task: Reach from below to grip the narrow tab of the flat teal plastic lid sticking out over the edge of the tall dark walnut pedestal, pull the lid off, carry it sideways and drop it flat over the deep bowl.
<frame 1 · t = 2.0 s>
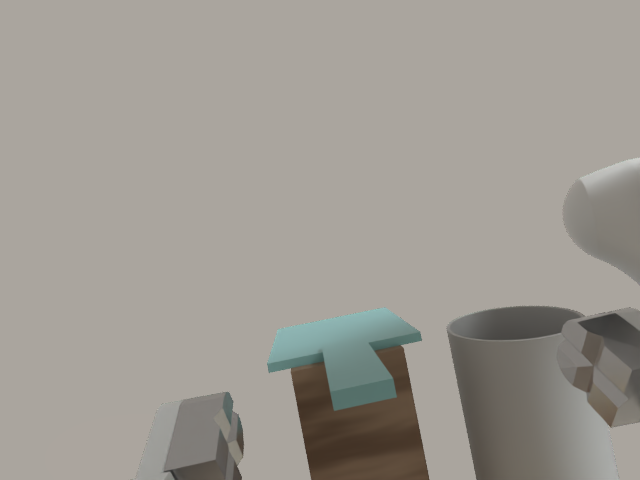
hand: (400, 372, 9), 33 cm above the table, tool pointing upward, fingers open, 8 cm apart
lid: (338, 337, 39), point 26 cm above the table, touching pedestal
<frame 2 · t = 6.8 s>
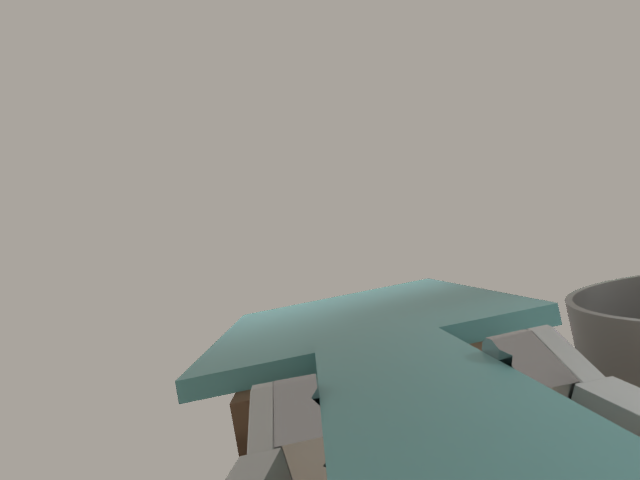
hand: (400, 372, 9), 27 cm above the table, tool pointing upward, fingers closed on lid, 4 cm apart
lid: (350, 325, 20), point 26 cm above the table, touching gripper, pedestal
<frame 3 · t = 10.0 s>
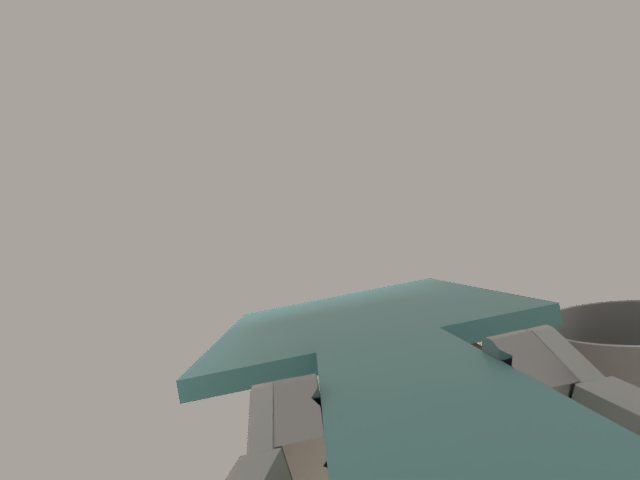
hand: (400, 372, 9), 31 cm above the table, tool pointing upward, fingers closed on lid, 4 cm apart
lid: (351, 325, 20), point 30 cm above the table, touching gripper
when the fingers open (19 cm above the table, at t = 13.5 s): lid drops 4 cm, resting on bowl.
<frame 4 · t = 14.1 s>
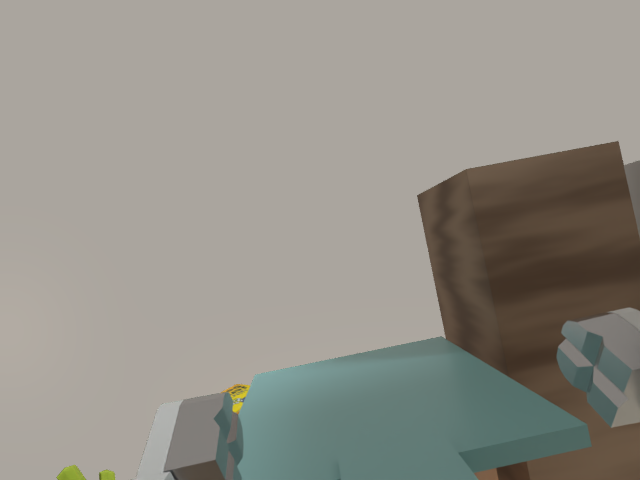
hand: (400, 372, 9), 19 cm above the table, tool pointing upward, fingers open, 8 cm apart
lid: (367, 405, 20), point 14 cm above the table, touching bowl
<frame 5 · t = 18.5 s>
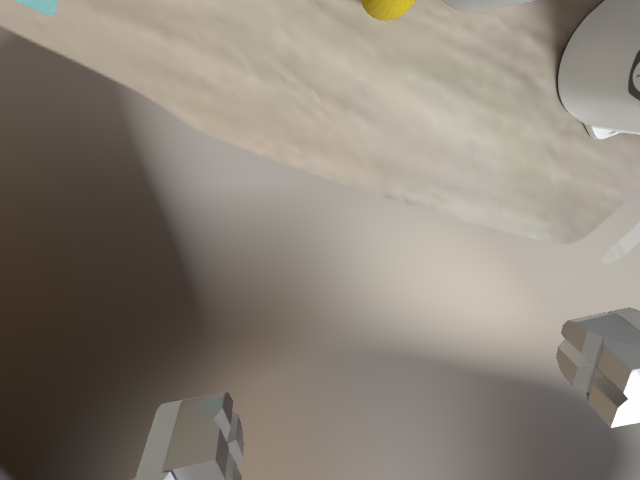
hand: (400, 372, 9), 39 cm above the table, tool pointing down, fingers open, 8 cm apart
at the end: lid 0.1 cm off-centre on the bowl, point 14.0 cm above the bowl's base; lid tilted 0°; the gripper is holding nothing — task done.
